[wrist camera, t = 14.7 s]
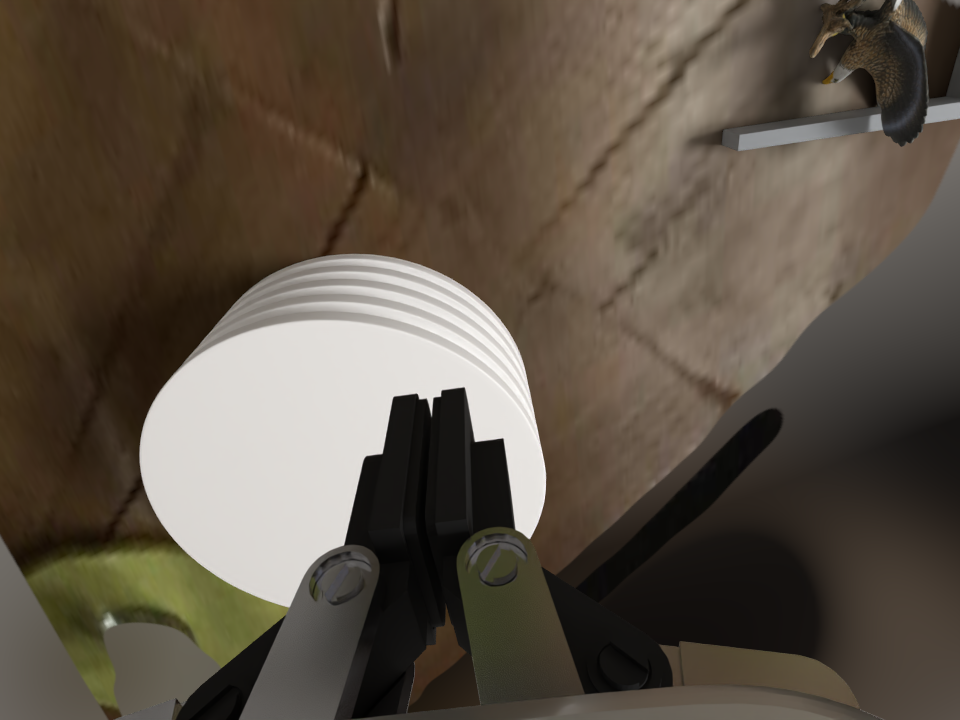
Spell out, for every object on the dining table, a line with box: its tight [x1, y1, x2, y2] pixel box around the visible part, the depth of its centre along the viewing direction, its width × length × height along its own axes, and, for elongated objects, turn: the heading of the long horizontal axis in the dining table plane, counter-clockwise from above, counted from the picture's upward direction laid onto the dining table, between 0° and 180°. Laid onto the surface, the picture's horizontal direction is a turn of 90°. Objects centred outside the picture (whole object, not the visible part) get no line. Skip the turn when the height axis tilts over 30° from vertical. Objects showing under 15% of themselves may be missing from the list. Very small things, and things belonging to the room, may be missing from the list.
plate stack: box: [140, 254, 546, 608], centre depth 43 cm, size 28×28×12 cm
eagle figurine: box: [809, 0, 929, 147], centre depth 32 cm, size 8×7×9 cm
